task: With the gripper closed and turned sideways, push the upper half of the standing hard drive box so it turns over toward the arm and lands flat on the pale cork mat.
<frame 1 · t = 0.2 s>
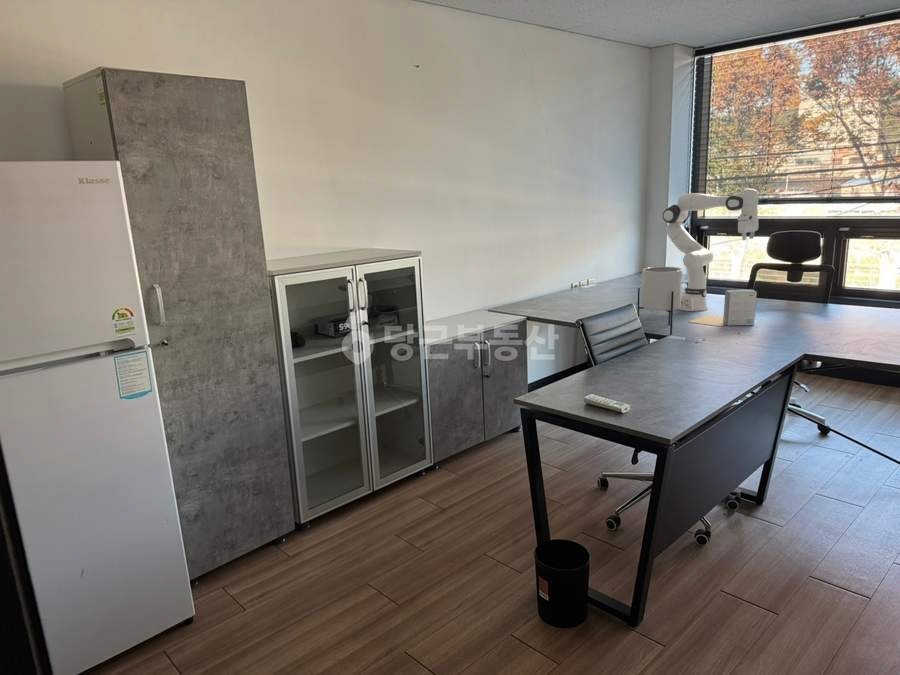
hand: (747, 239, 371), 47 cm above the table, fingers open, 8 cm apart
hard drive box: (738, 324, 360), on the table, touching cork mat
plant pot with stand: (658, 329, 359), on the table
cork mat: (713, 321, 371), on the table
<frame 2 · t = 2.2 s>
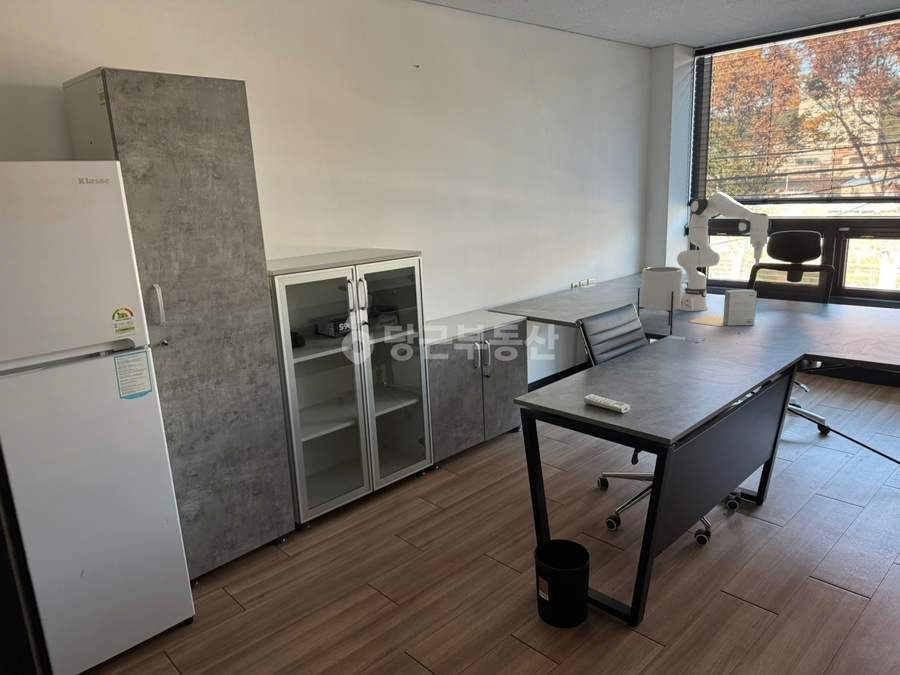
hand: (757, 265, 353), 35 cm above the table, fingers closed
nothing on the table moved.
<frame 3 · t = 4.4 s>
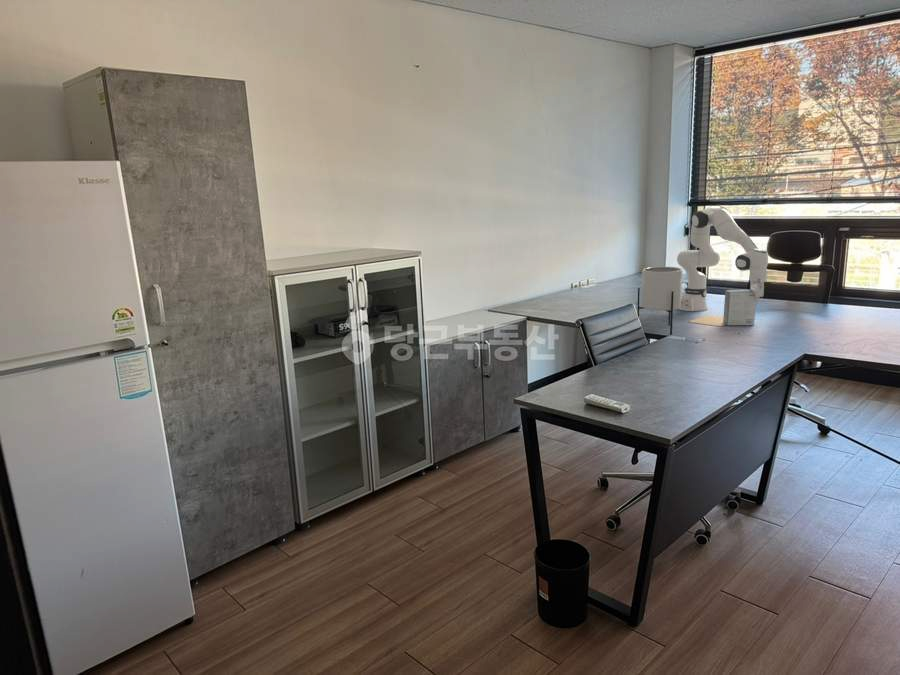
hand: (756, 301, 349), 15 cm above the table, fingers closed
hard drive box: (738, 324, 360), on the table, touching cork mat, gripper
everything else where it was.
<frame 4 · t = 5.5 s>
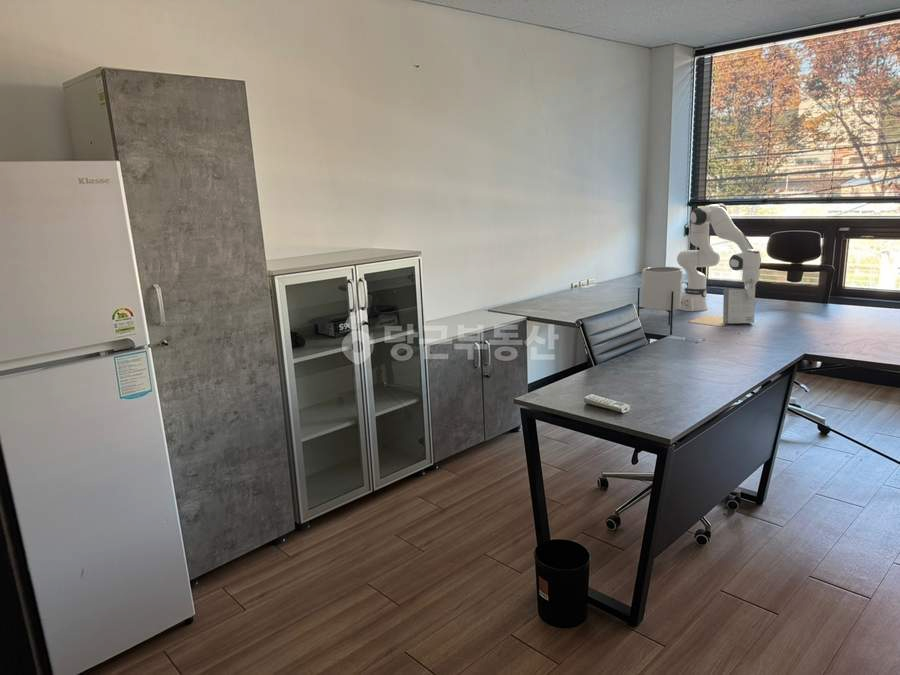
hand: (749, 301, 353), 14 cm above the table, fingers closed
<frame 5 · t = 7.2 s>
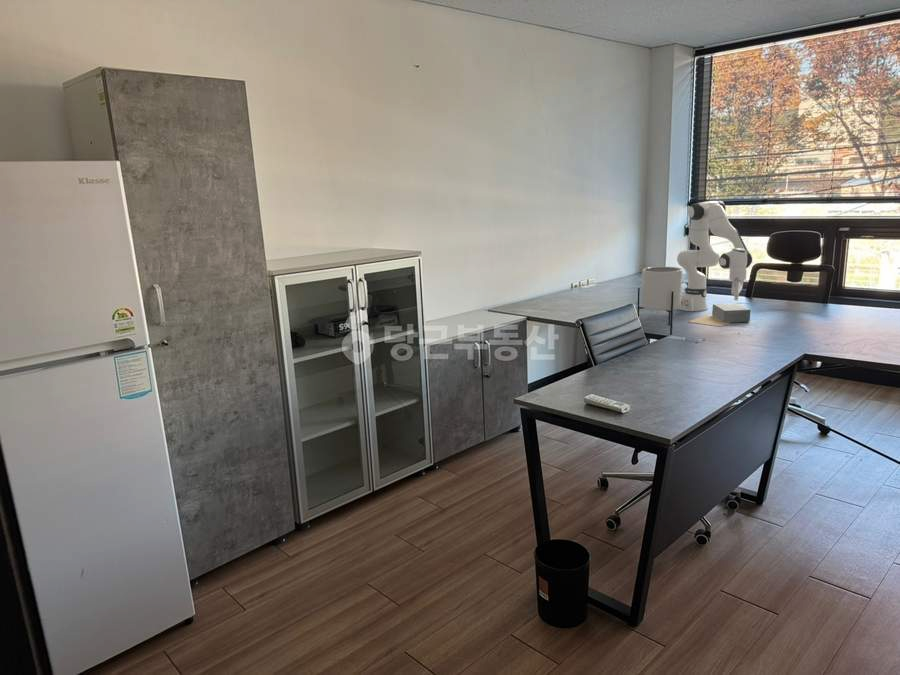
hand: (736, 299, 358), 15 cm above the table, fingers closed
hard drive box: (736, 316, 362), point 4 cm above the table, touching cork mat
everything else where it was.
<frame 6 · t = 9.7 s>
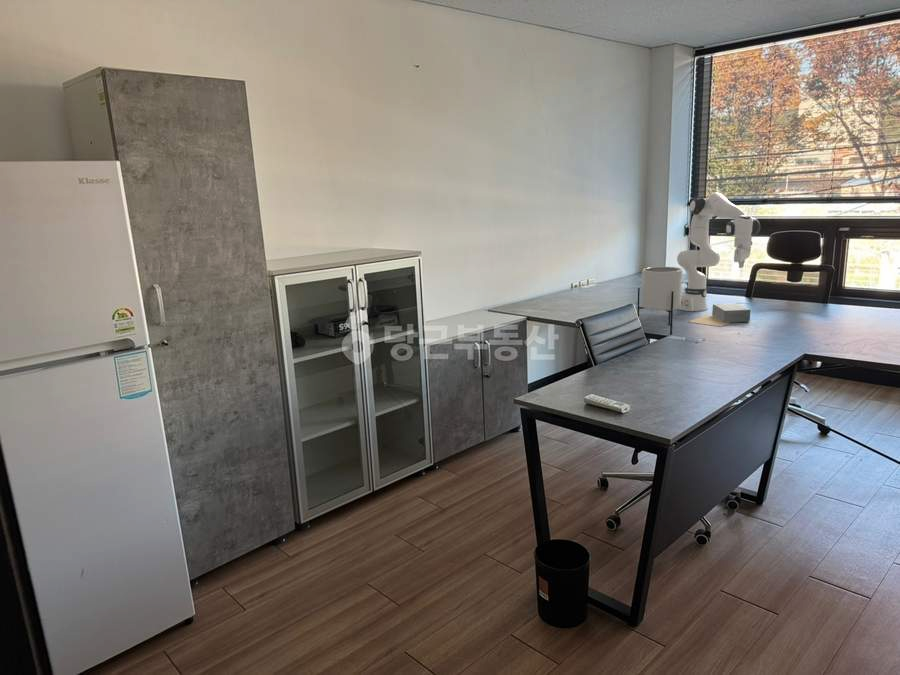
hand: (741, 267, 355), 33 cm above the table, fingers closed
nothing on the table moved.
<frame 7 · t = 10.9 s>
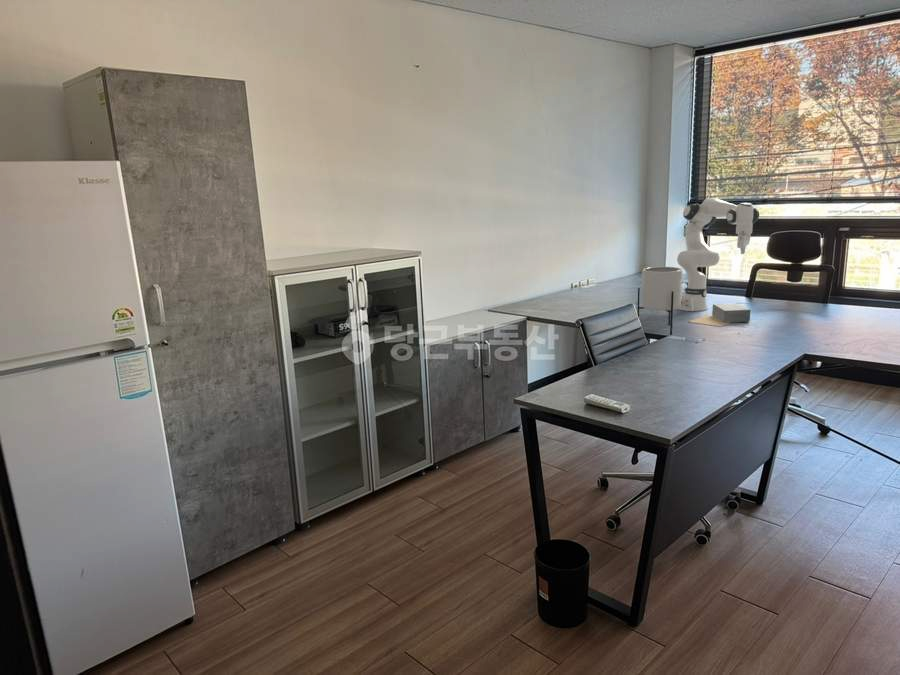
hand: (742, 253, 367), 39 cm above the table, fingers closed
nothing on the table moved.
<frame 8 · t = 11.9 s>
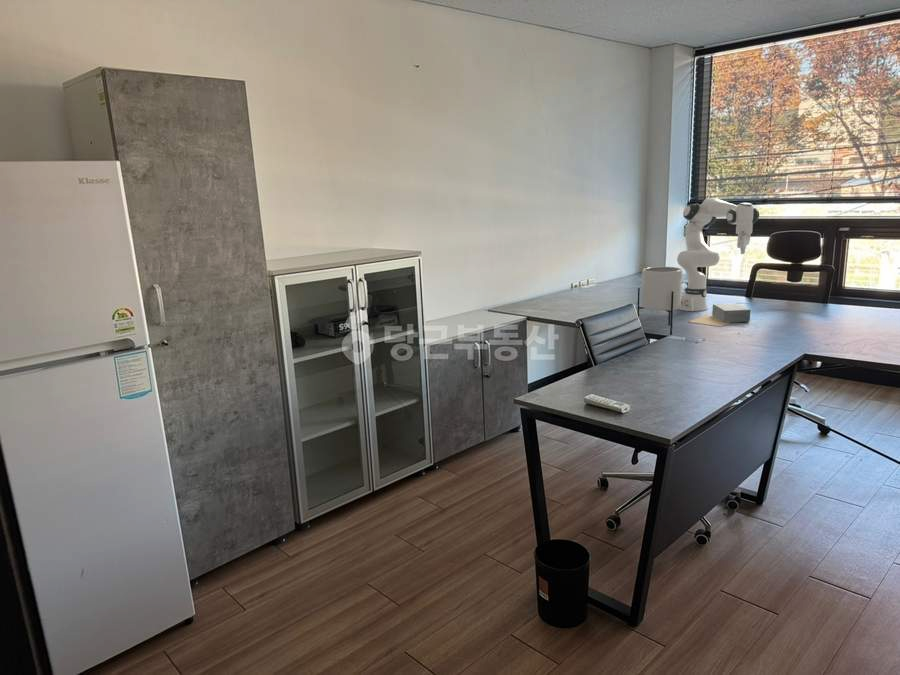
hand: (742, 253, 367), 39 cm above the table, fingers closed
nothing on the table moved.
at the end: hard drive box tilted 90°; hard drive box inside the target area (10.6 cm from its centre), point 4.1 cm above the table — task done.
